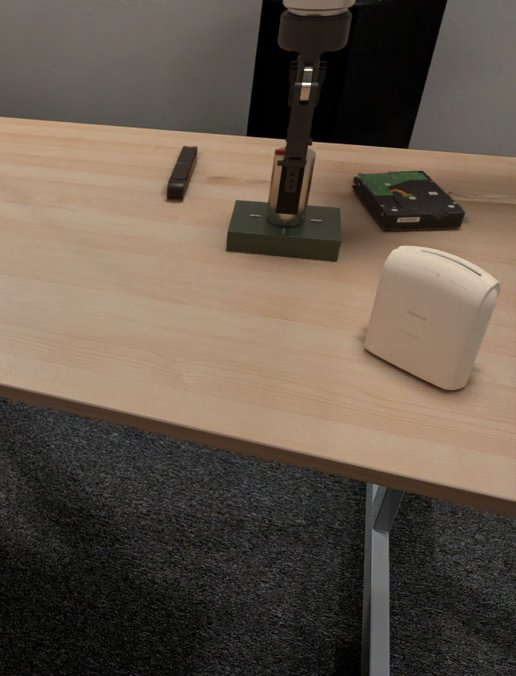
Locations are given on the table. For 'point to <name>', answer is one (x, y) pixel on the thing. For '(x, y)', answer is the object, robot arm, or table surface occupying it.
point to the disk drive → (407, 201)
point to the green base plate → (285, 233)
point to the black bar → (182, 173)
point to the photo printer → (431, 314)
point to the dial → (271, 216)
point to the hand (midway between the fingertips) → (287, 203)
